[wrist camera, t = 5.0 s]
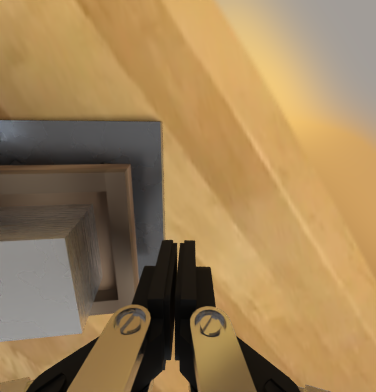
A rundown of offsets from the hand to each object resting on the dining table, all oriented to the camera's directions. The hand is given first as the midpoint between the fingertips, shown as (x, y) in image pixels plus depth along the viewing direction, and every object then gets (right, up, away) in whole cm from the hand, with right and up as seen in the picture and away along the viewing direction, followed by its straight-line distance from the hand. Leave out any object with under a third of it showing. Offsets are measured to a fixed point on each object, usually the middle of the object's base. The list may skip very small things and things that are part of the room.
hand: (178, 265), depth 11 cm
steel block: (-9, +1, +2) cm, 9 cm away
